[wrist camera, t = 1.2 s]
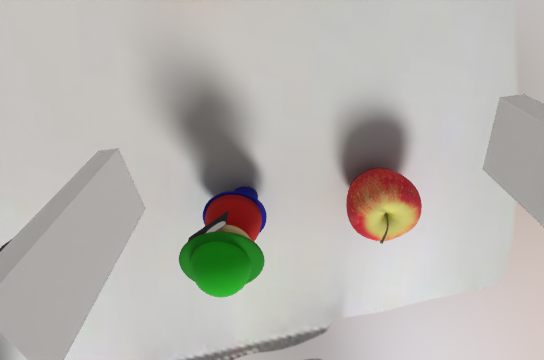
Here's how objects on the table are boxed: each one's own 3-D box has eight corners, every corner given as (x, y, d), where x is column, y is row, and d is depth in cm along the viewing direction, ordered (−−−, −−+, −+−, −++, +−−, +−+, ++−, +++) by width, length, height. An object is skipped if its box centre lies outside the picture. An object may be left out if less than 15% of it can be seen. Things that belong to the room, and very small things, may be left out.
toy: (217, 230, 47) (197, 326, 34) (187, 184, 43) (152, 274, 30) (275, 212, 45) (277, 306, 33) (250, 162, 41) (241, 247, 28)
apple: (328, 177, 42) (342, 229, 34) (388, 143, 40) (420, 190, 31) (357, 218, 46) (376, 274, 37) (414, 189, 43) (449, 242, 35)
